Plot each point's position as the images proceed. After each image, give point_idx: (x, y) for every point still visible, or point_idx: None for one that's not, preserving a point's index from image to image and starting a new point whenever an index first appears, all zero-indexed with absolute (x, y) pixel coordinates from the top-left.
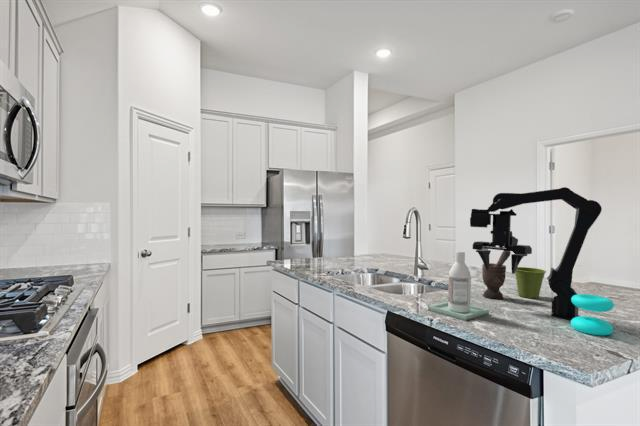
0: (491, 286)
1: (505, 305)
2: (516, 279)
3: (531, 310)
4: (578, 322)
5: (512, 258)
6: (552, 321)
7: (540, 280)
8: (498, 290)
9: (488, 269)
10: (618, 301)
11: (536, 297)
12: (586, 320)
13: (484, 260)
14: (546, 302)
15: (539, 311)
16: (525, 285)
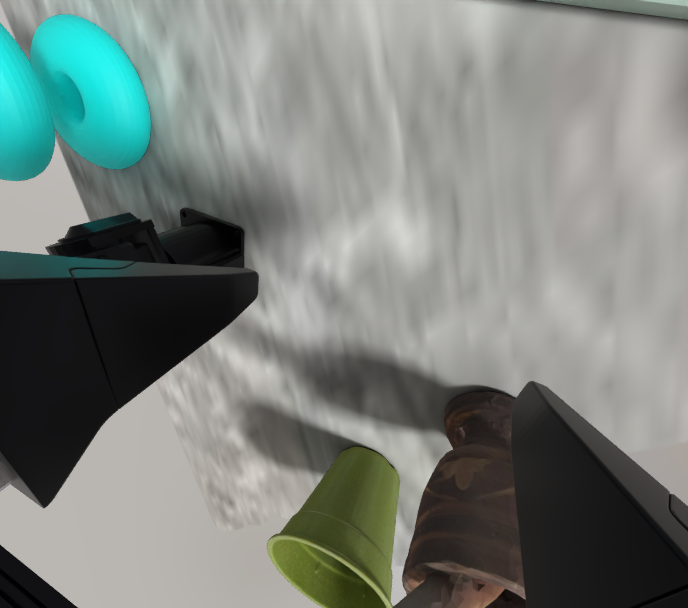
0: (497, 447)
1: (416, 297)
2: (390, 539)
3: (313, 272)
4: (80, 33)
5: (15, 269)
6: (214, 137)
7: (300, 509)
8: (461, 441)
9: (518, 396)
10: (210, 474)
11: (341, 452)
12: (55, 48)
13: (628, 482)
14: (308, 413)
15: (289, 275)
16: (355, 489)
